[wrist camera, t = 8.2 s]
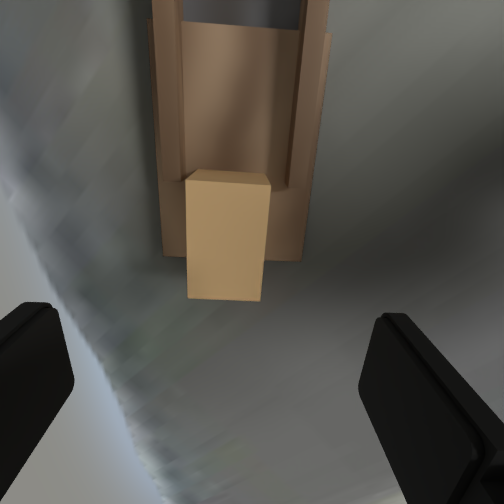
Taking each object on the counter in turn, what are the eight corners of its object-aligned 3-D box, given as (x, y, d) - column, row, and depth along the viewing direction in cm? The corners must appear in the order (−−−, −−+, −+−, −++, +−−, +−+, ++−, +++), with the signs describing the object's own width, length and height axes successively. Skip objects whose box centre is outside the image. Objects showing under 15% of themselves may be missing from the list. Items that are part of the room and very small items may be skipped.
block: (264, 173, 22) (271, 185, 17) (256, 269, 25) (260, 301, 20) (197, 169, 21) (185, 179, 17) (197, 266, 24) (187, 298, 20)
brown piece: (344, -86, 17) (364, -129, 14) (299, 256, 25) (305, 272, 23) (142, -107, 16) (122, -155, 14) (166, 251, 25) (156, 266, 22)
